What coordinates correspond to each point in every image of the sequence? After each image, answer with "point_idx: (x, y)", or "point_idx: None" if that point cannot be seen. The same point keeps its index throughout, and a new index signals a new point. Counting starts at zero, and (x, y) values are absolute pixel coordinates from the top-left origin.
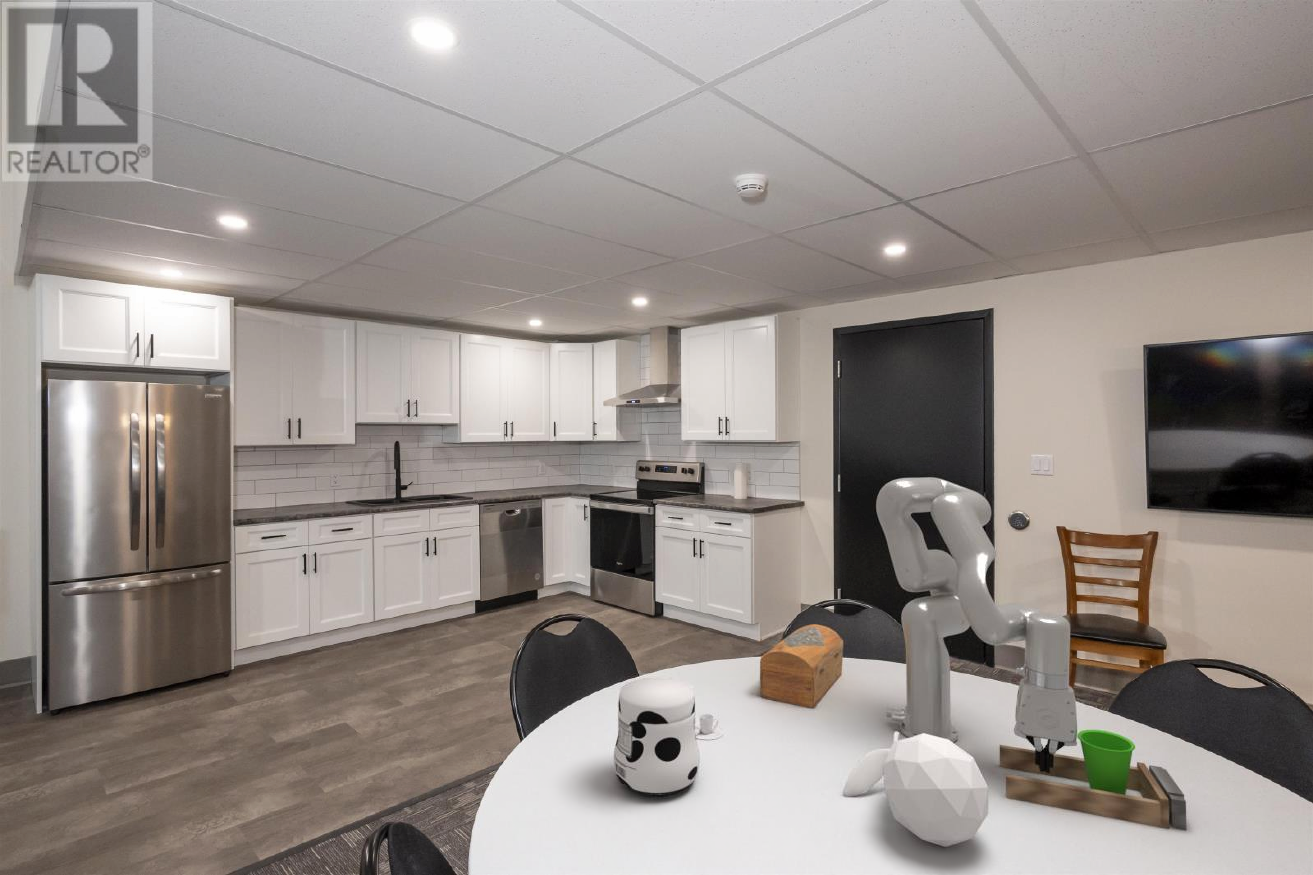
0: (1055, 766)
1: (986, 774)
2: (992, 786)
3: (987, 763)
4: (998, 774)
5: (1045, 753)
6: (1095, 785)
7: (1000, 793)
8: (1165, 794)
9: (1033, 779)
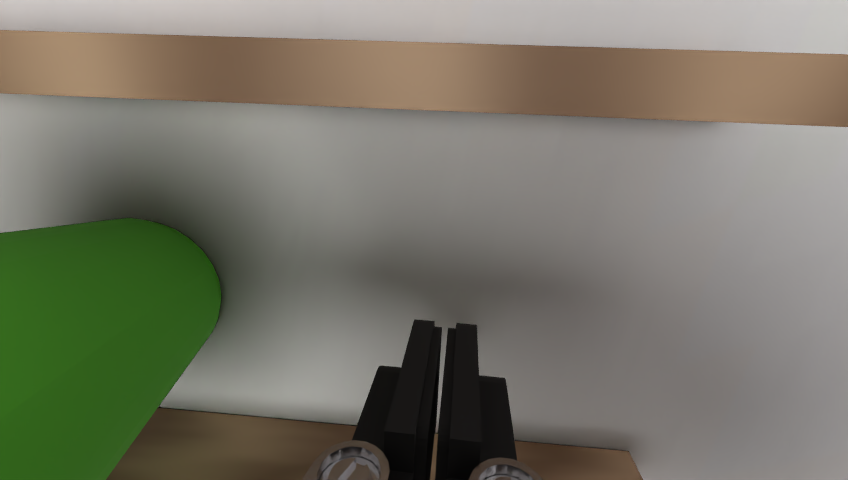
0: None
1: (745, 348)
2: (767, 208)
3: (689, 465)
4: (668, 367)
5: (427, 454)
6: (148, 267)
7: (748, 126)
8: None
9: (600, 96)
